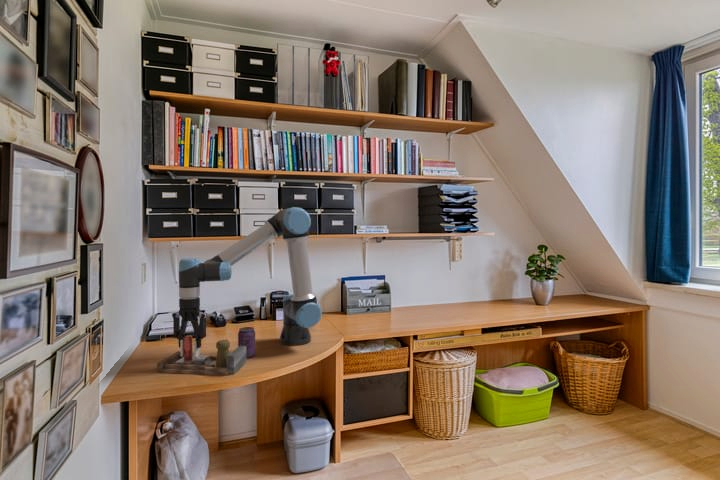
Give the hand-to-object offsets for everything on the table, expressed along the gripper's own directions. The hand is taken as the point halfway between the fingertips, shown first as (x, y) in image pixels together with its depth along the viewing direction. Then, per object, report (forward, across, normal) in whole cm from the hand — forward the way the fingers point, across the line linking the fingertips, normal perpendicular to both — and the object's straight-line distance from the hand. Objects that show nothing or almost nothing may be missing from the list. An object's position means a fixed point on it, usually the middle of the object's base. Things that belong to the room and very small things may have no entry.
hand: (190, 355), depth 152 cm
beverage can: (+5, -18, -14) cm, 23 cm away
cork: (+5, -14, 0) cm, 15 cm away
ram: (+3, -2, 0) cm, 4 cm away
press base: (+4, -6, 0) cm, 7 cm away
